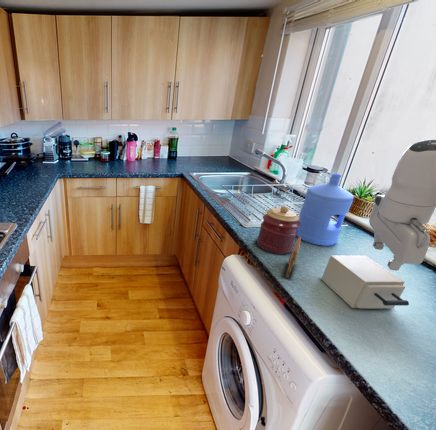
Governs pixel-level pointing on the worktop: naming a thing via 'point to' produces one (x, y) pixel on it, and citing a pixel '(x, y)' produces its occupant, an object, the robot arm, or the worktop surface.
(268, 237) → the kitchen canister
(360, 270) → the small drawer cabinet
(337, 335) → the worktop surface
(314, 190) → the water jug
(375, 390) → the worktop surface
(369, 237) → the worktop surface
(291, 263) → the ammunition clip
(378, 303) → the cabinet drawer
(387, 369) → the worktop surface
